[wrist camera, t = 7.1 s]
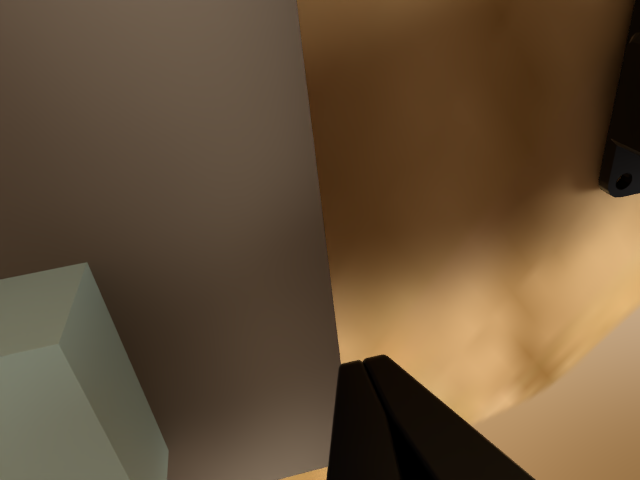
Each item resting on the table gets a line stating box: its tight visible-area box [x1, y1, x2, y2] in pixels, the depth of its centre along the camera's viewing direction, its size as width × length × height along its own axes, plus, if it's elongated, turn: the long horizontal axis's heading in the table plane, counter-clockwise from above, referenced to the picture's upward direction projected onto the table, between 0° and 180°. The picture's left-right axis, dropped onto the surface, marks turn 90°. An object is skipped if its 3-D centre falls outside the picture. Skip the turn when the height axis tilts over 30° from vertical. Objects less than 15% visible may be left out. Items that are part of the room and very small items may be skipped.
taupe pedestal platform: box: [0, 0, 341, 480], centre depth 9 cm, size 10×18×4 cm, turn 6°
